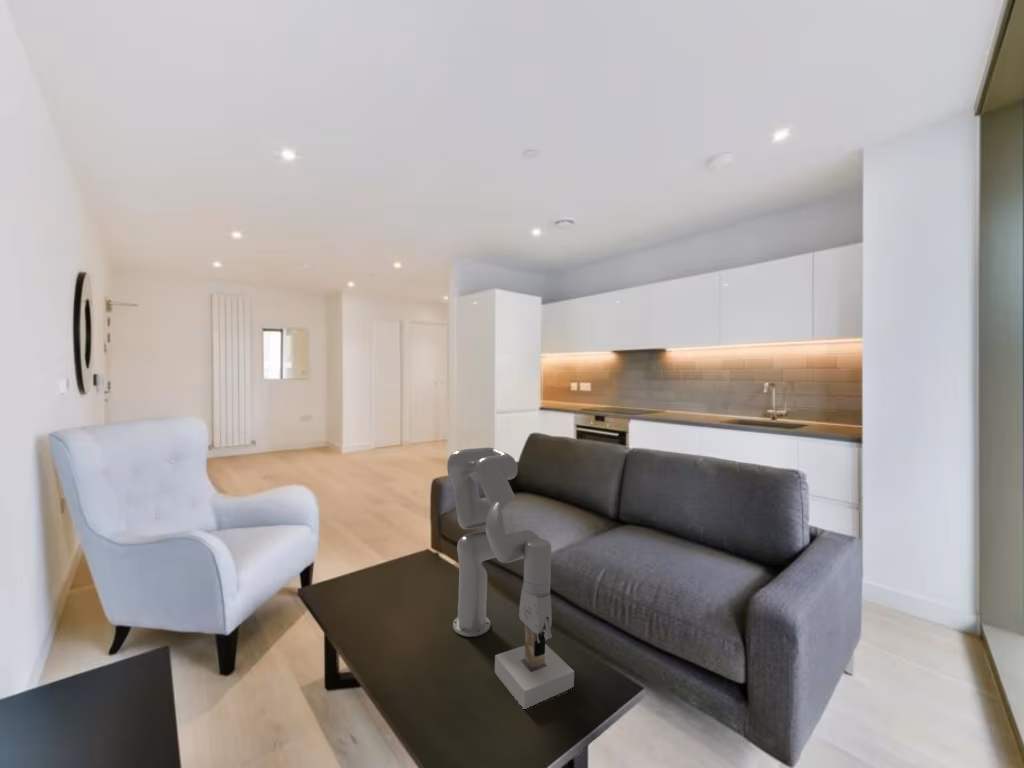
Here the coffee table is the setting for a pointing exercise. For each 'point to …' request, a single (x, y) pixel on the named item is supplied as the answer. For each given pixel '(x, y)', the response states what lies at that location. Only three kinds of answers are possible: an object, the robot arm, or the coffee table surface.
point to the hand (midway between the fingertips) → (534, 649)
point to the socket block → (533, 676)
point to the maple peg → (532, 649)
